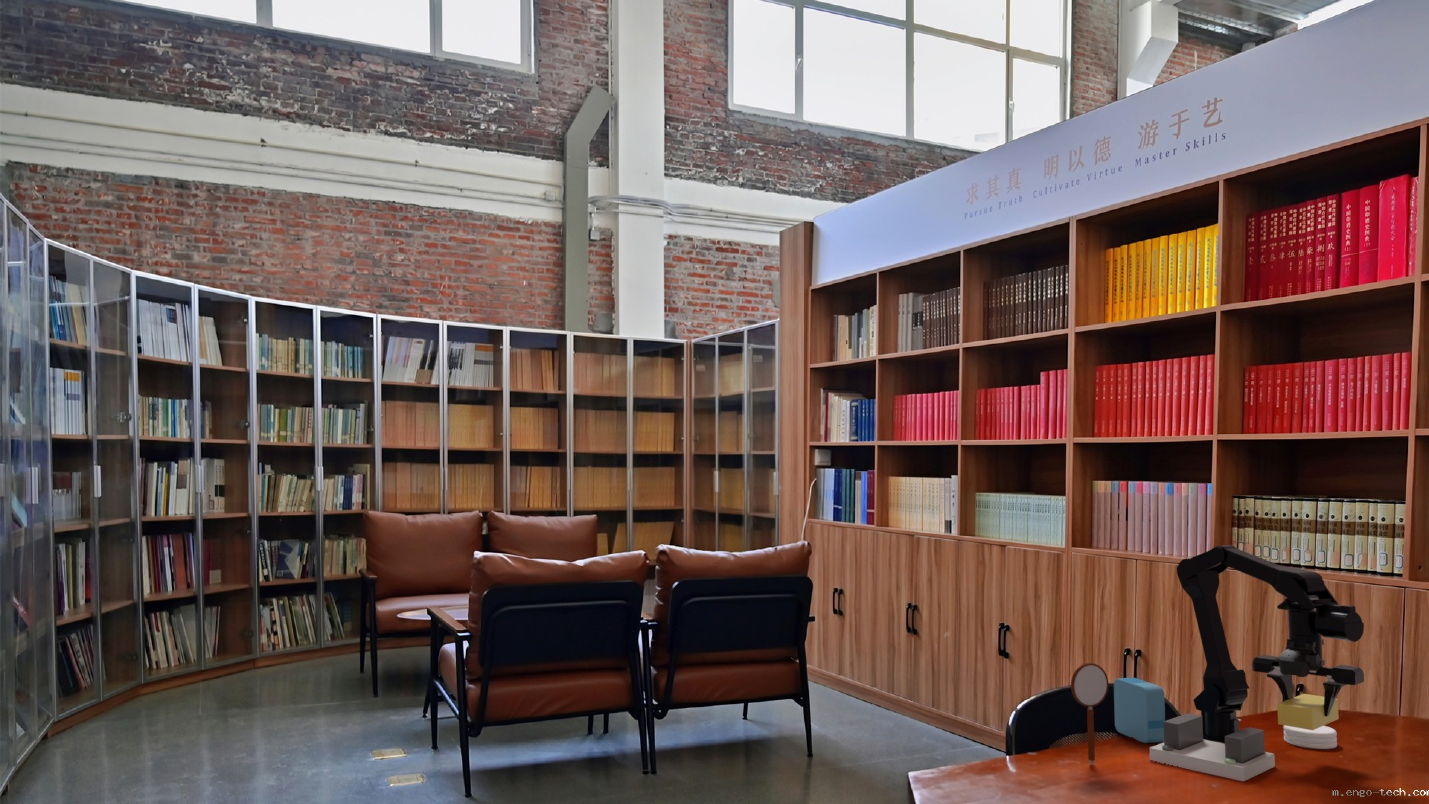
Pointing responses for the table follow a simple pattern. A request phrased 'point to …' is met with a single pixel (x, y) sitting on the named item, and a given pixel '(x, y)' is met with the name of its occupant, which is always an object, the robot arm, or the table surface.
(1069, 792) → the table surface
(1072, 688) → the magnifying glass
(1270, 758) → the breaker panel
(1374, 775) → the table surface
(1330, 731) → the coaster
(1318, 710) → the pale yellow pad
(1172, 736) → the block
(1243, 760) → the block
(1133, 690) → the data package
